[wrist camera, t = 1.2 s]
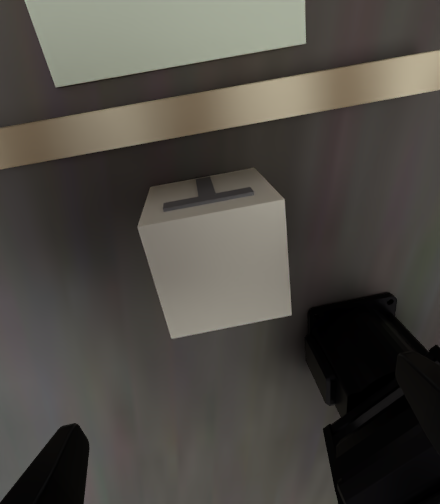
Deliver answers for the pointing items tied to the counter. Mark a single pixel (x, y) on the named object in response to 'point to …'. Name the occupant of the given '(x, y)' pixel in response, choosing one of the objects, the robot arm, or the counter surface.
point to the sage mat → (157, 33)
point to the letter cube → (217, 251)
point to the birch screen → (218, 109)
